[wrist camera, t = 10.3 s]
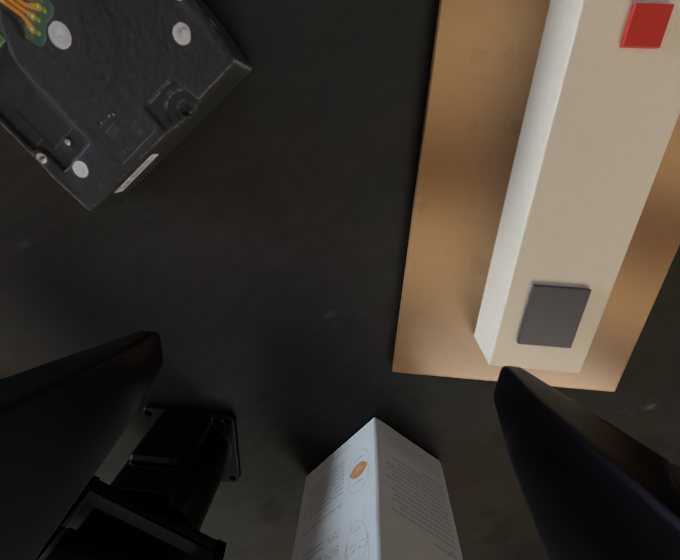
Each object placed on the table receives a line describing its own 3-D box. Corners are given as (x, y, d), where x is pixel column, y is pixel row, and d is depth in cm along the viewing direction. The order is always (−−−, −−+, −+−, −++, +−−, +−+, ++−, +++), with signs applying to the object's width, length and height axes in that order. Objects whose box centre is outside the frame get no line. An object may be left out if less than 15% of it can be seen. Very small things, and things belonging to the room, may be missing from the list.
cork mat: (608, 385, 21) (614, 392, 21) (392, 366, 22) (392, 372, 21) (821, -107, 13) (841, -118, 12) (453, -112, 13) (457, -122, 13)
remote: (552, 342, 20) (582, 376, 17) (473, 335, 20) (489, 368, 17) (671, -13, 13) (749, -52, 11) (553, -17, 14) (600, -55, 11)
